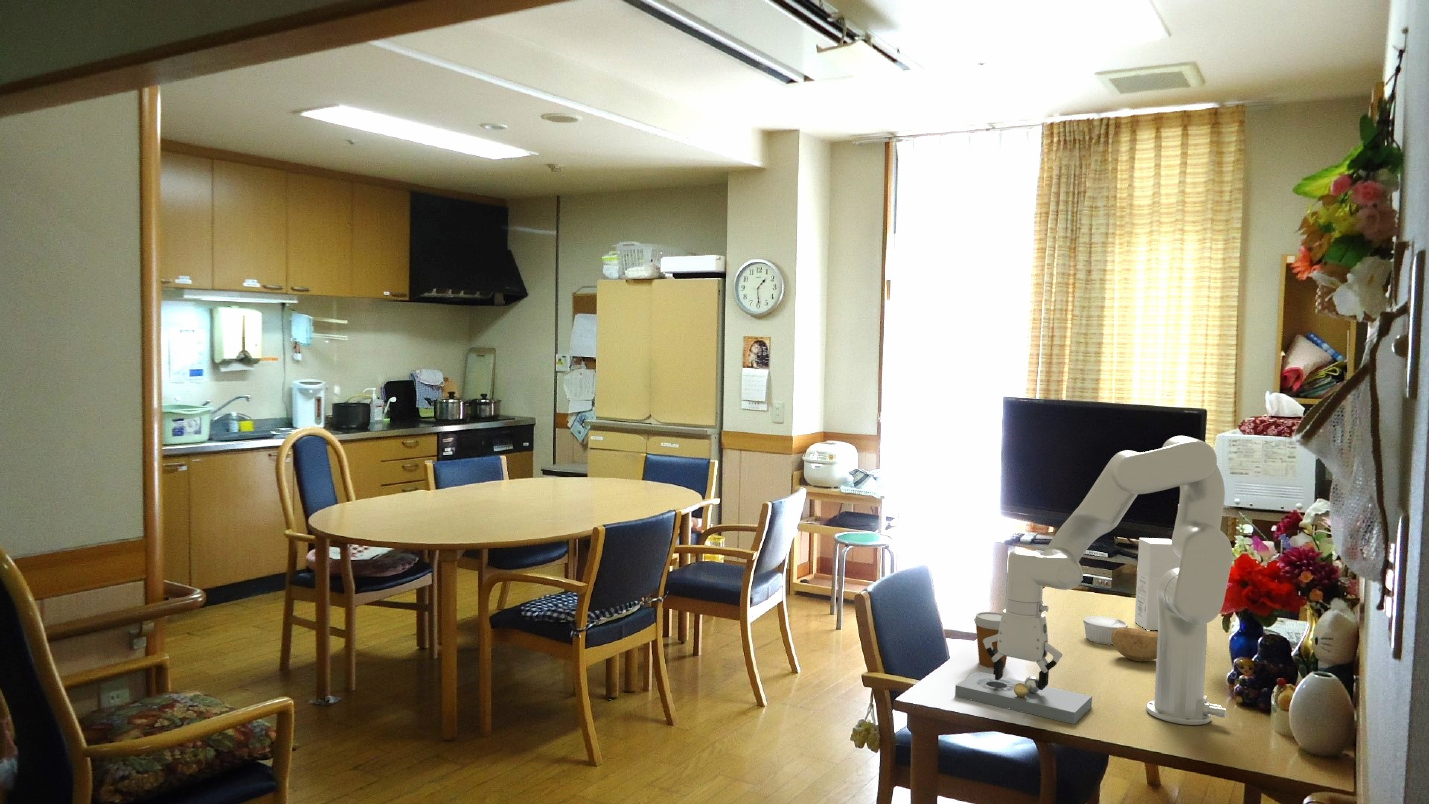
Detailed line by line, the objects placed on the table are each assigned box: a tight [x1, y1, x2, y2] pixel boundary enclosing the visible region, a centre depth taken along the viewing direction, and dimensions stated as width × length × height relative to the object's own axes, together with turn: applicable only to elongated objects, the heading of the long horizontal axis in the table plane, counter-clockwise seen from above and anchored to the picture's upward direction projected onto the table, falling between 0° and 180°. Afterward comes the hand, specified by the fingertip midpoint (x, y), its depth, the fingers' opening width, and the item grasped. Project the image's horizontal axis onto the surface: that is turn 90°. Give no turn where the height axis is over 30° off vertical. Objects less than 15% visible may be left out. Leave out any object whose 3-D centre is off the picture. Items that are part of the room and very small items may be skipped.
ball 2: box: [1024, 675, 1039, 693], centre depth 218 cm, size 4×4×4 cm
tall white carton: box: [1134, 537, 1181, 630], centre depth 284 cm, size 9×9×25 cm
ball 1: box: [1014, 683, 1028, 697], centre depth 215 cm, size 3×3×3 cm
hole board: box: [954, 671, 1093, 725], centre depth 219 cm, size 26×13×2 cm, turn 54°
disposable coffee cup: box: [973, 611, 1008, 669], centre depth 245 cm, size 10×10×12 cm
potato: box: [1111, 626, 1158, 662], centre depth 253 cm, size 10×14×8 cm
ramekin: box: [1082, 615, 1129, 645], centre depth 270 cm, size 11×11×5 cm
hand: (1020, 683), depth 219 cm, fingers open, 9 cm apart
